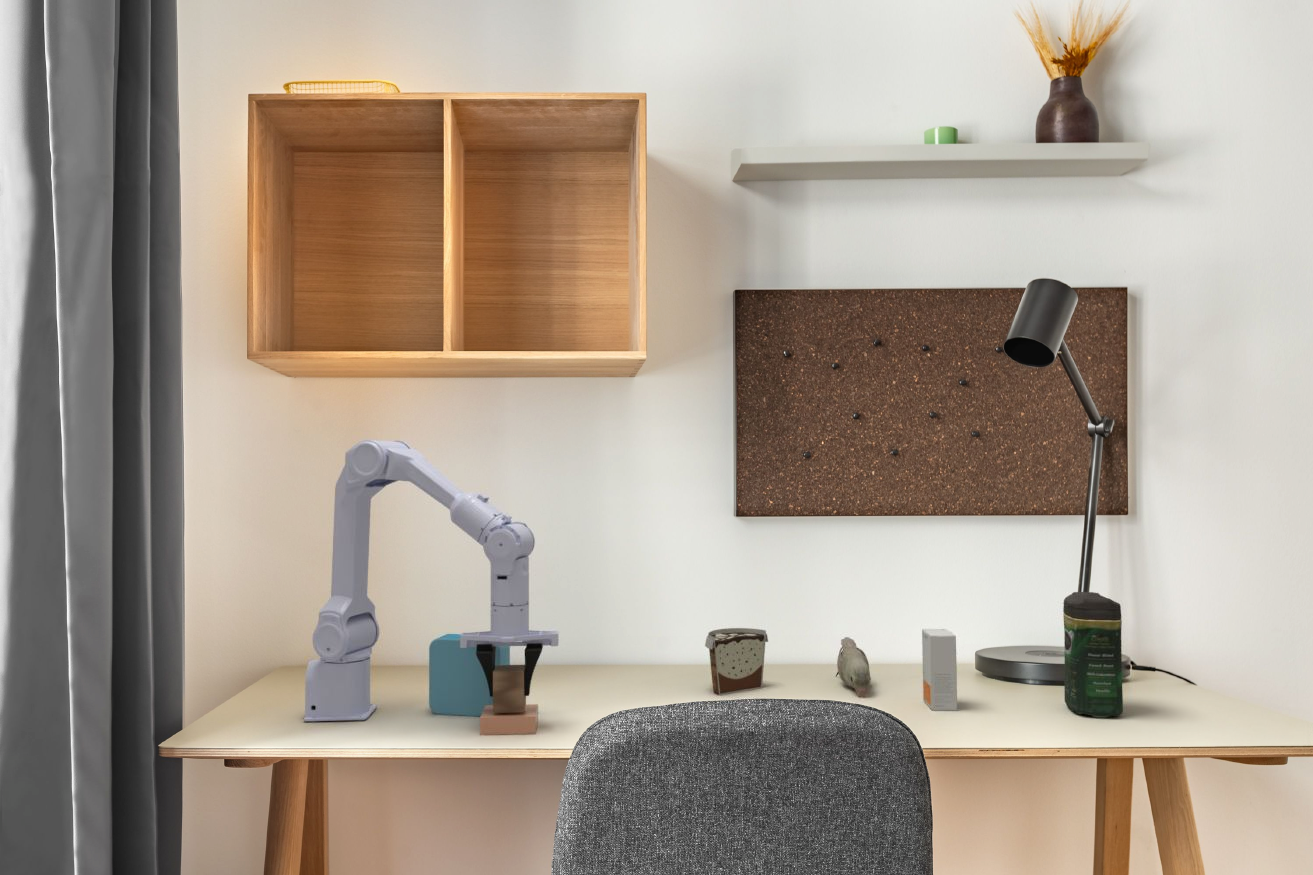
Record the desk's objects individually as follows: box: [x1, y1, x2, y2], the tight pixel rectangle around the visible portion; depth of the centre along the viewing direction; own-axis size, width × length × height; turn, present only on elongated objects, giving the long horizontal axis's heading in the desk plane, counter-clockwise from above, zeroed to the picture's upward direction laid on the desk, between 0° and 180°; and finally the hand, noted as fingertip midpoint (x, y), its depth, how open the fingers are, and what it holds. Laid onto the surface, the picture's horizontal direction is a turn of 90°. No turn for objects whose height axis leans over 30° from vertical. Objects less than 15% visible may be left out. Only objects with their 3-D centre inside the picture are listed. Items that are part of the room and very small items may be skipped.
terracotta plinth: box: [479, 703, 539, 736], centre depth 139 cm, size 8×7×2 cm
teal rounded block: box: [428, 633, 511, 718], centre depth 148 cm, size 12×4×12 cm, turn 79°
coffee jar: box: [1062, 591, 1124, 718], centre depth 147 cm, size 10×8×19 cm
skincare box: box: [921, 628, 958, 712], centre depth 151 cm, size 6×4×12 cm
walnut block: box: [493, 664, 527, 713], centre depth 139 cm, size 4×4×6 cm
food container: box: [704, 627, 769, 696], centre depth 163 cm, size 12×6×10 cm, turn 122°
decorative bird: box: [834, 636, 872, 698], centre depth 164 cm, size 5×16×8 cm, turn 178°
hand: (509, 694), depth 139 cm, fingers closed on walnut block, 4 cm apart
